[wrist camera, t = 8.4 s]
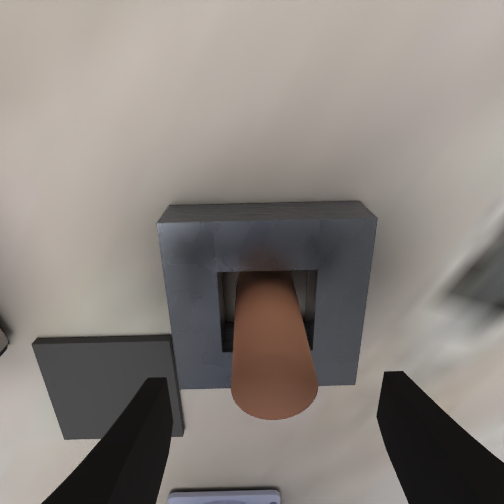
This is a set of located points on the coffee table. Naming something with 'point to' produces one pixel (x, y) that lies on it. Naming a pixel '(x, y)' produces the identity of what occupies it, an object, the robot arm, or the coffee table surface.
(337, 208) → the chuck plate
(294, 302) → the cylinder
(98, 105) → the coffee table surface
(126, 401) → the mat
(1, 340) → the red and grey box
